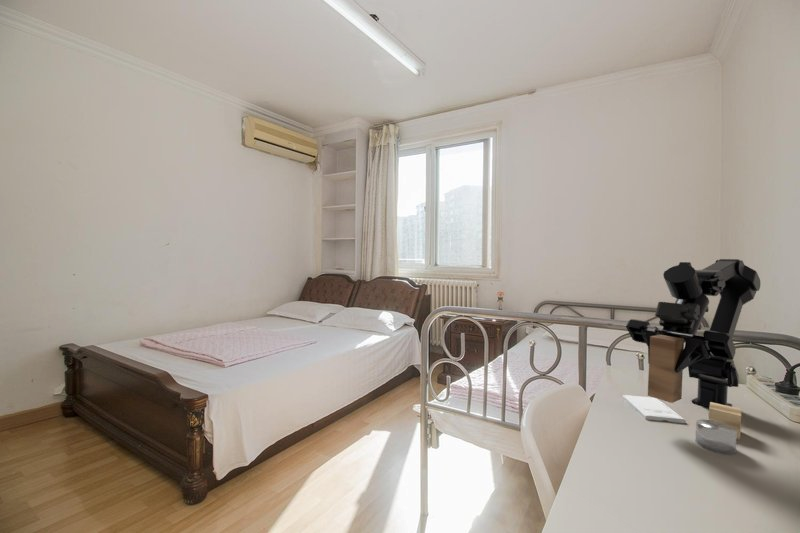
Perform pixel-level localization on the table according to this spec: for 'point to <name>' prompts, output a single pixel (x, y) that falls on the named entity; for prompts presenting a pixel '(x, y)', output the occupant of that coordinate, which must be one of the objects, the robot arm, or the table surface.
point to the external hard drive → (653, 409)
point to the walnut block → (665, 368)
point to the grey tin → (716, 437)
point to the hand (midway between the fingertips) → (662, 367)
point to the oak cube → (726, 416)
